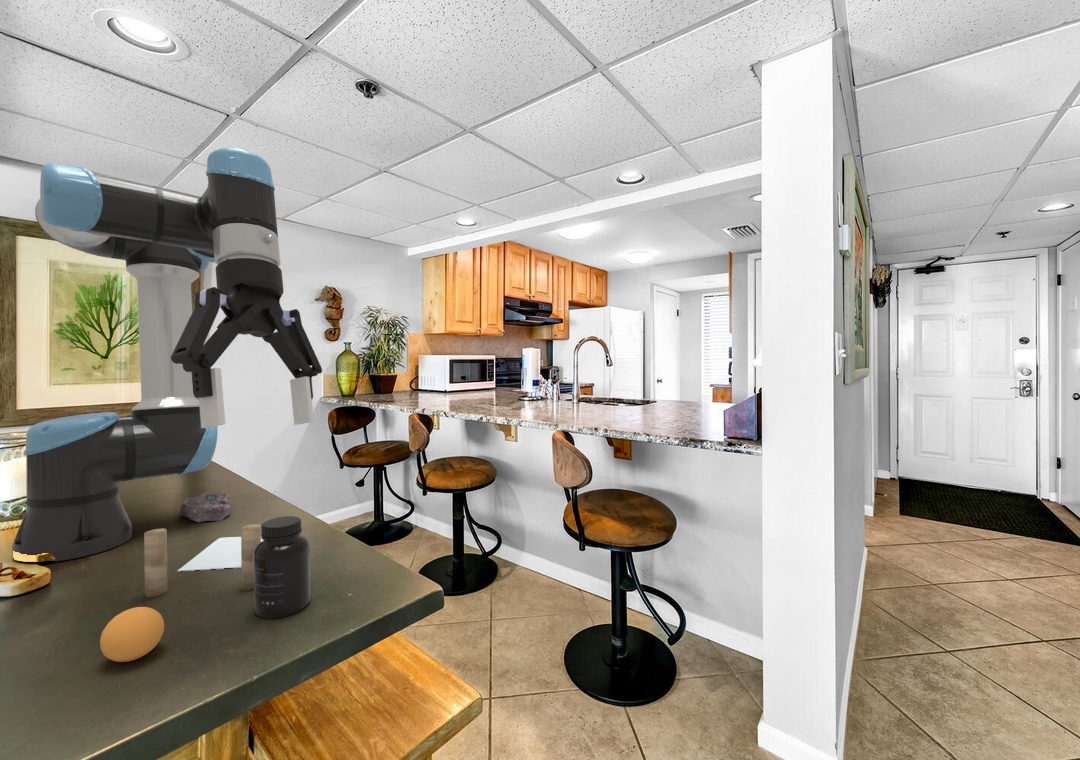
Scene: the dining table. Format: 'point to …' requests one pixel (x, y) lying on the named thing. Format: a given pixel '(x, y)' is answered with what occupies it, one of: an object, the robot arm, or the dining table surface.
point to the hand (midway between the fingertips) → (263, 424)
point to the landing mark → (217, 556)
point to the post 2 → (248, 554)
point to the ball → (132, 634)
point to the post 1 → (155, 562)
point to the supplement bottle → (281, 568)
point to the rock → (206, 507)
